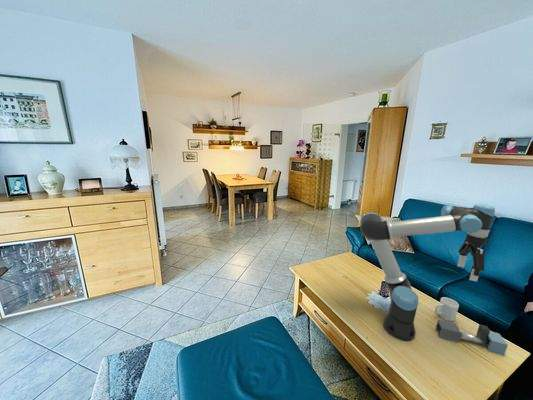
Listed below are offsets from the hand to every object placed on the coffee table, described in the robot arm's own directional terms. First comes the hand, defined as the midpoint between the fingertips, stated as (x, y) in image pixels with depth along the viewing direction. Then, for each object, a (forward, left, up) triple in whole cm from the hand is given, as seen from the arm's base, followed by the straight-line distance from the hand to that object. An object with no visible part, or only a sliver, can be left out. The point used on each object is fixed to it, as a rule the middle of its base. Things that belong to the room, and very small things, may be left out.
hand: (466, 273), depth 114 cm
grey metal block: (-4, -7, -35) cm, 36 cm away
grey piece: (+7, -7, -34) cm, 35 cm away
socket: (+14, -7, -35) cm, 38 cm away
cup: (-1, +9, -35) cm, 36 cm away
